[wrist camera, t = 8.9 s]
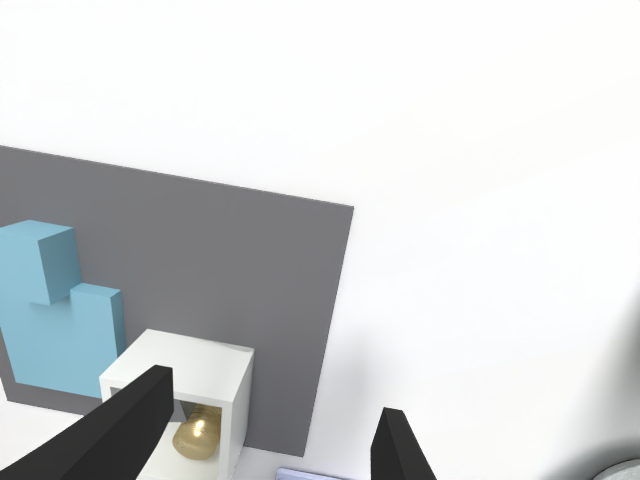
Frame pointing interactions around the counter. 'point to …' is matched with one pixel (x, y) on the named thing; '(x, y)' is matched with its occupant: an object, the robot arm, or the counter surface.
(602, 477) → the cereal bowl
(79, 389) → the lid
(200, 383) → the tub
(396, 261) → the counter surface
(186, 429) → the gold rounded piece
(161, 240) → the mat
